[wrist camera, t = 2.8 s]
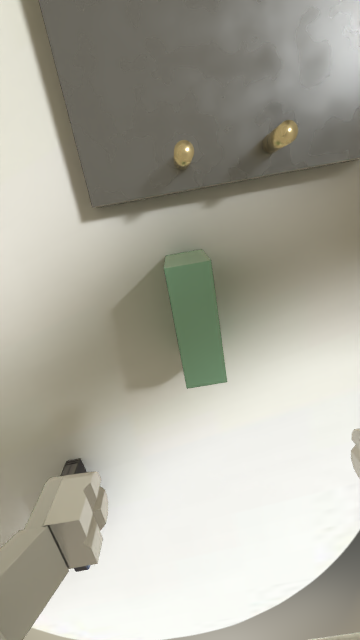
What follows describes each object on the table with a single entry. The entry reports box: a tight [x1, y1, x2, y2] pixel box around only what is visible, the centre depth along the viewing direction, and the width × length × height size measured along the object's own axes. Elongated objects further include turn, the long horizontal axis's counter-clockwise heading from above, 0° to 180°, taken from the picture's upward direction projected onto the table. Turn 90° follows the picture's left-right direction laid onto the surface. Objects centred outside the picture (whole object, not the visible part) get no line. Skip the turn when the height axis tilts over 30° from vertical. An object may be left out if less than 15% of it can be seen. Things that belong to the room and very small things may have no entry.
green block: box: [164, 249, 227, 389], centre depth 23 cm, size 3×9×6 cm, turn 10°
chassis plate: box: [39, 0, 360, 208], centre depth 17 cm, size 20×16×4 cm
